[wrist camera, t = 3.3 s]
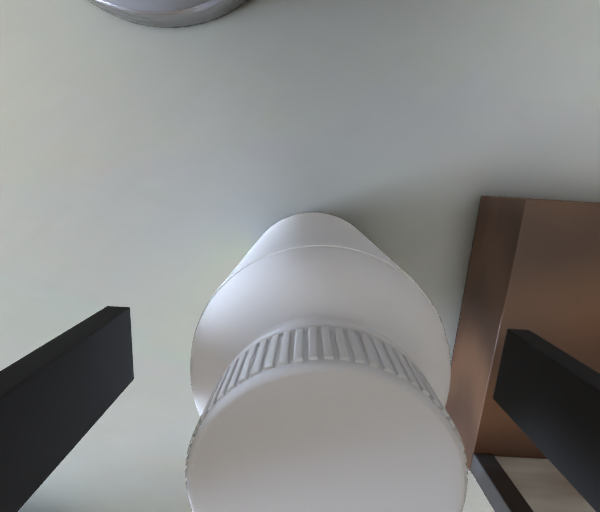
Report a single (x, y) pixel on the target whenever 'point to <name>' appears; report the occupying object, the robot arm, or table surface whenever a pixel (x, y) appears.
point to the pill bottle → (322, 383)
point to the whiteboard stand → (528, 316)
